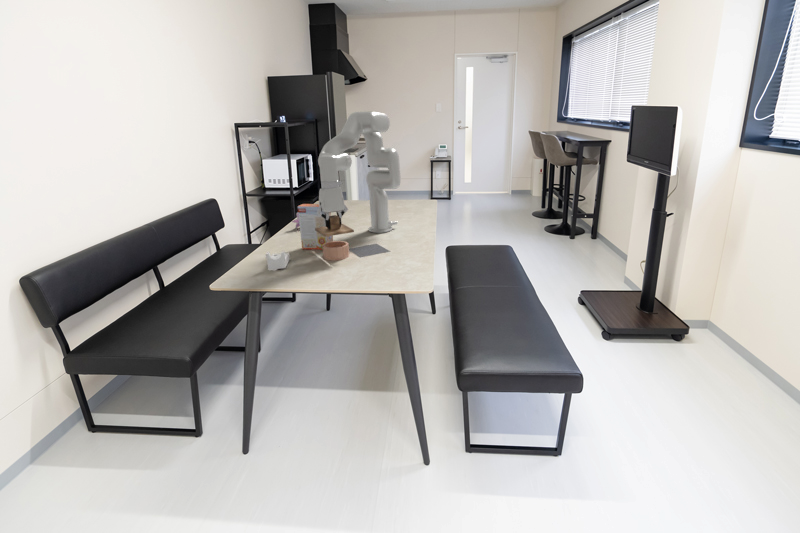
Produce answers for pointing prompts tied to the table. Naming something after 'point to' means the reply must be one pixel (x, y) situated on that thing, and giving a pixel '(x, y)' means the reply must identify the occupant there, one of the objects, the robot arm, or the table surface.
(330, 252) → the bowl
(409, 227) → the table surface
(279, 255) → the bracket
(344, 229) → the lid
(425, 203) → the table surface
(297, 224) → the lily
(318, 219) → the cracker box
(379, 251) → the mat
